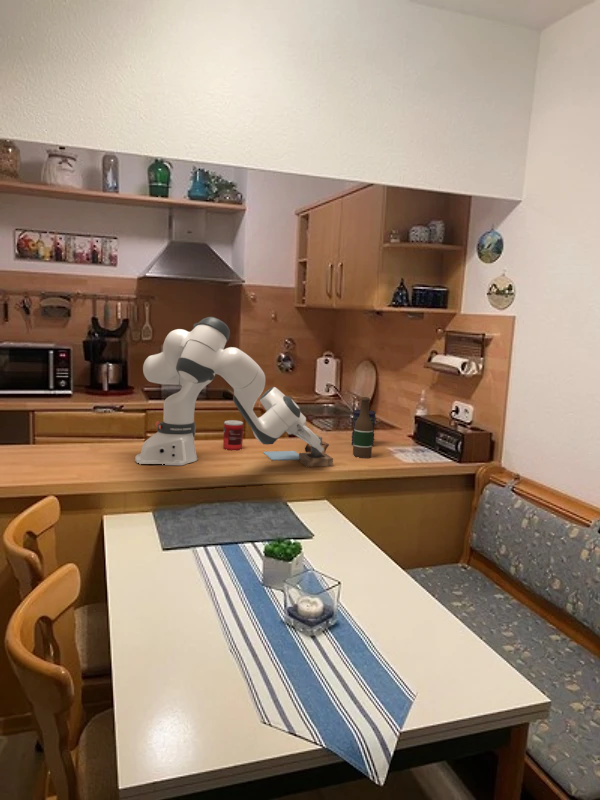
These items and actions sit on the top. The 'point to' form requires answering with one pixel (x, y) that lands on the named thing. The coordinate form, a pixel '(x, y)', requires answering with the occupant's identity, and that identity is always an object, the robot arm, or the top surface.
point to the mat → (282, 455)
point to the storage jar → (356, 416)
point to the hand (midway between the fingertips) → (317, 448)
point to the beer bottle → (363, 432)
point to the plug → (314, 451)
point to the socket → (315, 460)
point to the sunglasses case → (324, 445)
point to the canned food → (233, 435)
